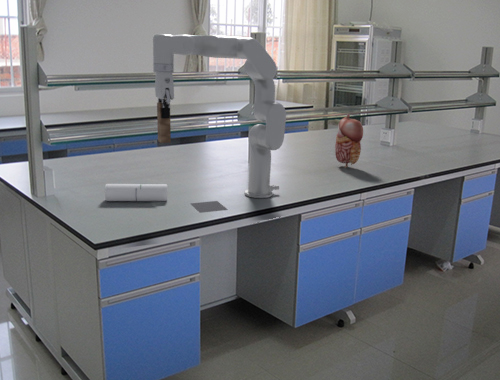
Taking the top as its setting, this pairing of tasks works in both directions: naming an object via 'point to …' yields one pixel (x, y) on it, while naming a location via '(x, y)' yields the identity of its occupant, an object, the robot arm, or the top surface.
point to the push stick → (163, 127)
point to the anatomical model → (348, 140)
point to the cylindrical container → (136, 192)
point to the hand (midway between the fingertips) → (163, 116)
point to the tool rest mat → (208, 206)
